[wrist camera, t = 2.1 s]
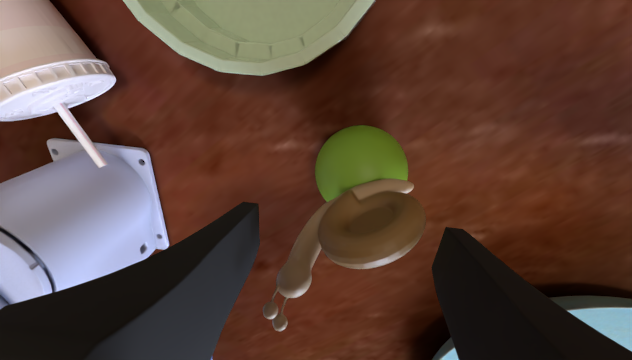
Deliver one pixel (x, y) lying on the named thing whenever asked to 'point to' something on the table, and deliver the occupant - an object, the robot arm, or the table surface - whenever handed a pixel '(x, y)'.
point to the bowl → (250, 30)
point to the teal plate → (584, 319)
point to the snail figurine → (354, 211)
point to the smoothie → (47, 67)
